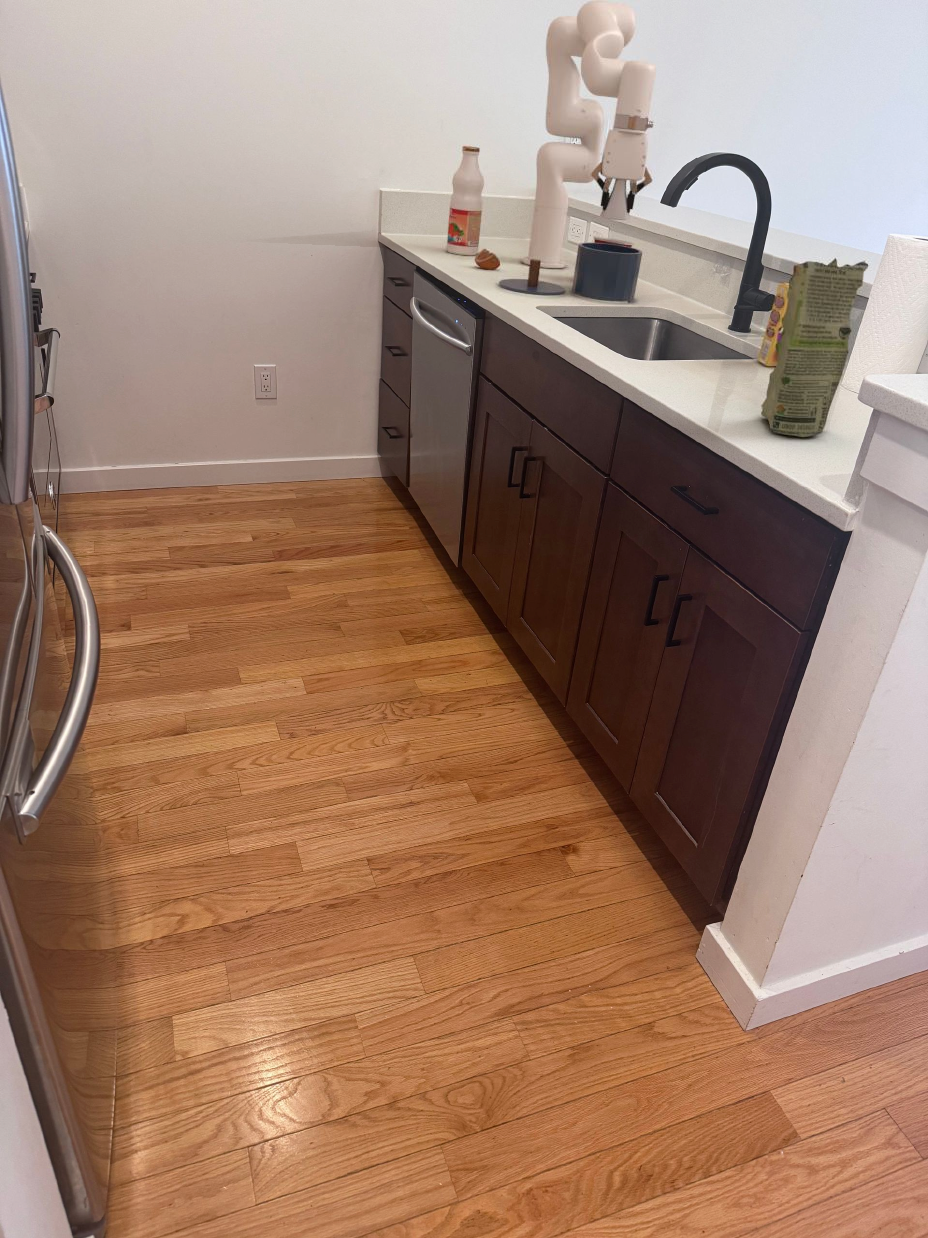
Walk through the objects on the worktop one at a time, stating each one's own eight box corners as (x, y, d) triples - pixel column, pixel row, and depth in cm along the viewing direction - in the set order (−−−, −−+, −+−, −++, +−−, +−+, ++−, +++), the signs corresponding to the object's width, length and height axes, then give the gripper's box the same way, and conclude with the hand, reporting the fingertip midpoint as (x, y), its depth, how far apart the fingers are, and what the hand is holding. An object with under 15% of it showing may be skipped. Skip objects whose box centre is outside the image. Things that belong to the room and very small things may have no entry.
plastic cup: (633, 288, 235) (642, 240, 229) (611, 291, 228) (619, 242, 222) (601, 280, 241) (608, 233, 235) (577, 283, 234) (585, 235, 228)
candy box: (767, 367, 172) (789, 285, 164) (756, 361, 175) (777, 280, 168) (807, 368, 174) (830, 288, 166) (795, 362, 177) (818, 283, 170)
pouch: (748, 430, 135) (795, 257, 122) (755, 410, 144) (798, 248, 132) (823, 445, 132) (879, 269, 119) (825, 424, 141) (876, 259, 129)
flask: (628, 222, 208) (637, 175, 203) (598, 218, 209) (606, 171, 204) (630, 219, 214) (638, 173, 209) (600, 215, 215) (607, 170, 210)
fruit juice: (480, 256, 258) (490, 149, 244) (448, 254, 257) (457, 146, 242) (474, 251, 266) (484, 147, 252) (444, 248, 264) (452, 143, 250)
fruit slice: (503, 273, 236) (505, 254, 234) (480, 272, 234) (482, 252, 232) (492, 267, 243) (494, 248, 240) (470, 266, 241) (471, 247, 238)
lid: (497, 281, 226) (501, 251, 222) (561, 287, 227) (565, 257, 223) (499, 293, 212) (503, 261, 208) (567, 300, 212) (572, 268, 209)
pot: (568, 287, 227) (575, 240, 221) (628, 293, 228) (637, 246, 222) (574, 299, 214) (582, 249, 208) (638, 306, 214) (647, 255, 208)
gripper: (663, 128, 205) (648, 212, 214) (591, 120, 205) (579, 205, 214) (669, 128, 199) (653, 216, 208) (595, 120, 198) (582, 209, 207)
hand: (615, 210), depth 211 cm, fingers closed on flask, 4 cm apart
